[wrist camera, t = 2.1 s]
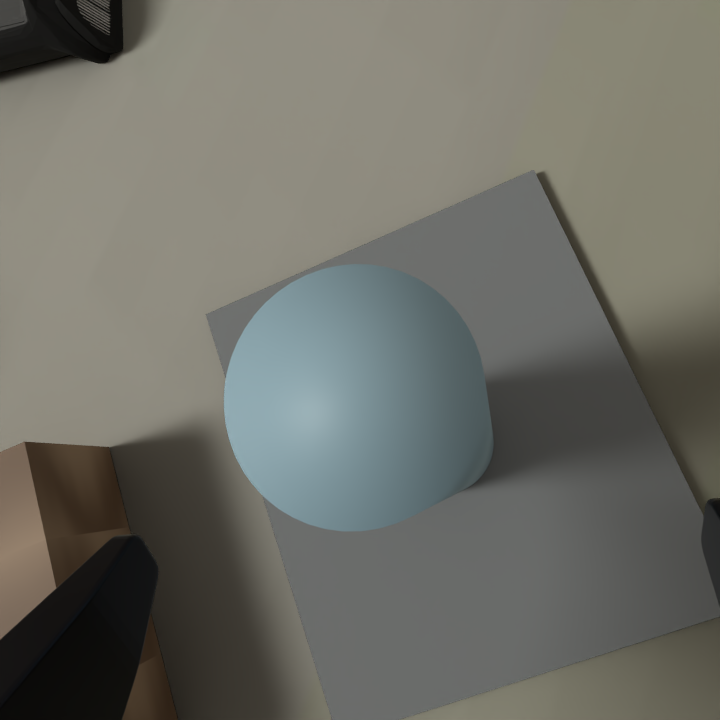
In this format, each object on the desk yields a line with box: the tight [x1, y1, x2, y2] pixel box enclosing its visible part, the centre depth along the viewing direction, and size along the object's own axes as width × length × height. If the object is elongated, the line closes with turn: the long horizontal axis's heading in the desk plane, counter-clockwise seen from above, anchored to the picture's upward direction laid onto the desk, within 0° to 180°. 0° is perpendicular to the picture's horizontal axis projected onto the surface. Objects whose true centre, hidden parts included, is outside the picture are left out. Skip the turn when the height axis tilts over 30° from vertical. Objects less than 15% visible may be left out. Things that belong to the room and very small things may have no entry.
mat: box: [206, 170, 720, 720], centre depth 19 cm, size 14×12×1 cm
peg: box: [224, 264, 494, 531], centre depth 13 cm, size 3×3×12 cm
